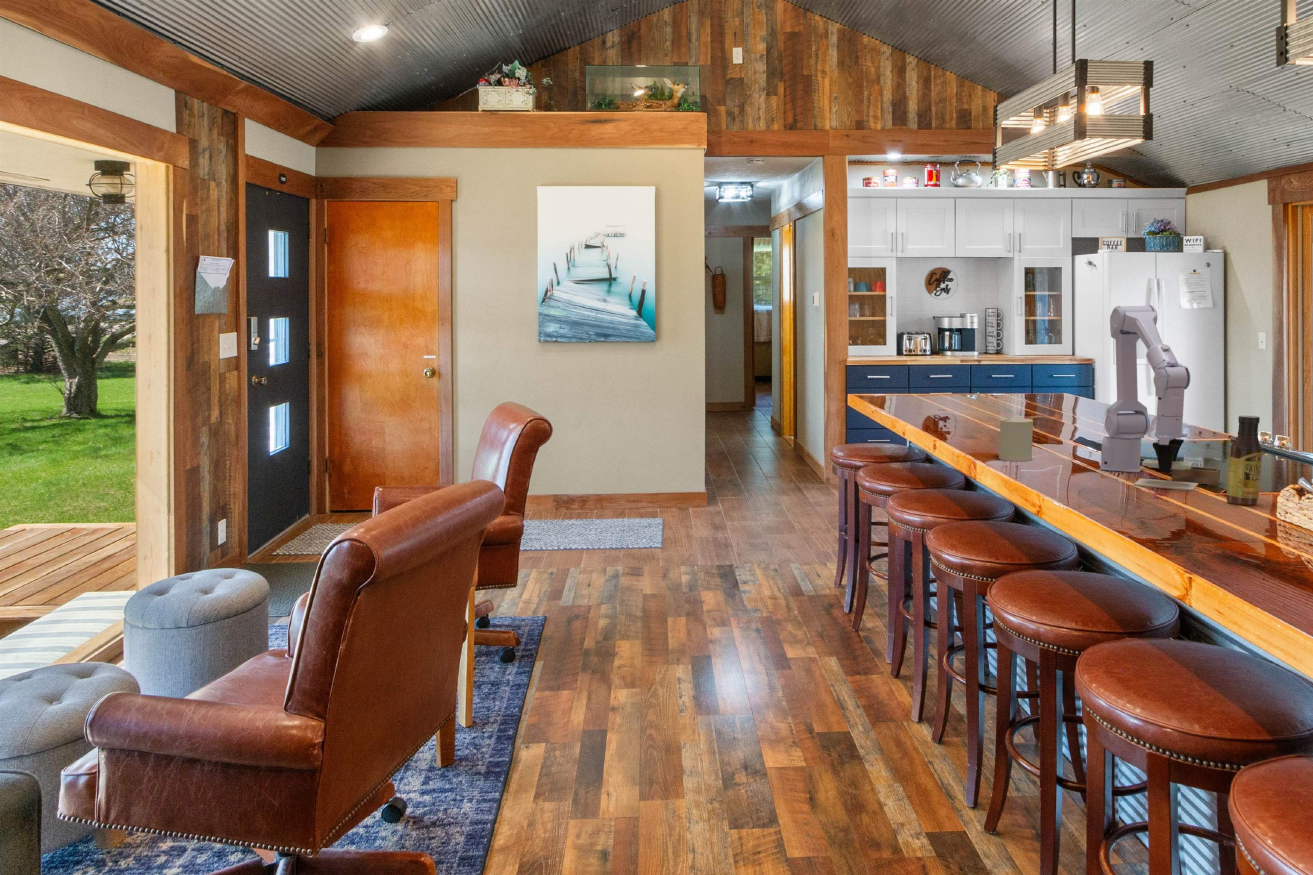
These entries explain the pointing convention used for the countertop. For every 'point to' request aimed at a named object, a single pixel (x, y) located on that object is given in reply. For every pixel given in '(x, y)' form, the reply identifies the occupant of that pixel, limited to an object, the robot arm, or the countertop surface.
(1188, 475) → the walnut box
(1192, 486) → the felt mat
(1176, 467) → the lid
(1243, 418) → the sauce bottle
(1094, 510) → the countertop surface
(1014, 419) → the can
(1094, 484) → the countertop surface
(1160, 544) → the countertop surface
